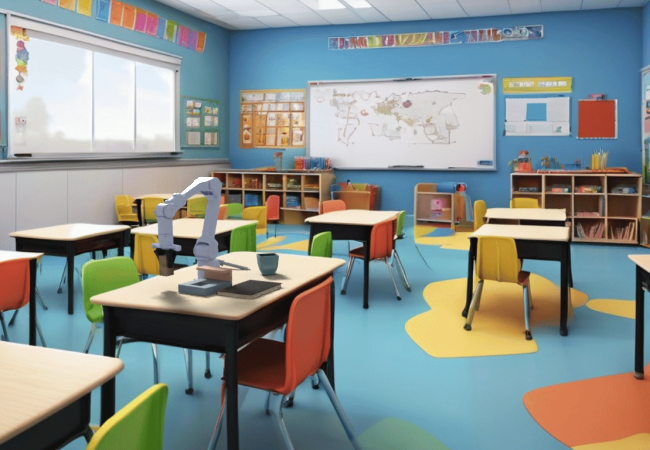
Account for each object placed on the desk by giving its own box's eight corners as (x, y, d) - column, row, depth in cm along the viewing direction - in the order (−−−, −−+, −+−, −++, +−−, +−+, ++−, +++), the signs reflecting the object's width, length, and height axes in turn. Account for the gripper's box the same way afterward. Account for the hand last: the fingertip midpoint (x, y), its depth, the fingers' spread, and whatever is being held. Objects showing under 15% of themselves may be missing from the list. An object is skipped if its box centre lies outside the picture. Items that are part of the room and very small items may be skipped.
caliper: (209, 268, 286) (208, 255, 285) (210, 268, 287) (209, 255, 286) (249, 270, 281) (249, 257, 280) (250, 270, 282) (250, 257, 281)
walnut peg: (166, 273, 244) (166, 254, 243) (173, 274, 241) (173, 255, 241) (159, 275, 240) (158, 255, 239) (166, 276, 238) (165, 256, 237)
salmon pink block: (205, 277, 249) (205, 265, 248) (232, 280, 242) (232, 268, 241) (196, 279, 244) (196, 267, 244) (223, 283, 237) (223, 270, 237)
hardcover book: (282, 288, 245) (282, 282, 244) (251, 300, 224) (251, 294, 224) (248, 284, 251) (248, 279, 251) (216, 296, 231) (216, 290, 231)
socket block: (206, 284, 249) (205, 277, 249) (232, 288, 242) (232, 280, 242) (178, 291, 236) (178, 284, 235) (205, 296, 229) (205, 288, 228)
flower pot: (256, 272, 274) (256, 253, 273) (275, 271, 277) (275, 252, 276) (260, 276, 266) (259, 256, 265) (279, 275, 268) (279, 255, 267)
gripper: (144, 233, 239) (146, 267, 241) (171, 236, 232) (172, 270, 233) (158, 231, 245) (159, 264, 247) (184, 234, 238) (185, 267, 239)
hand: (166, 267), depth 241 cm, fingers closed on walnut peg, 4 cm apart
